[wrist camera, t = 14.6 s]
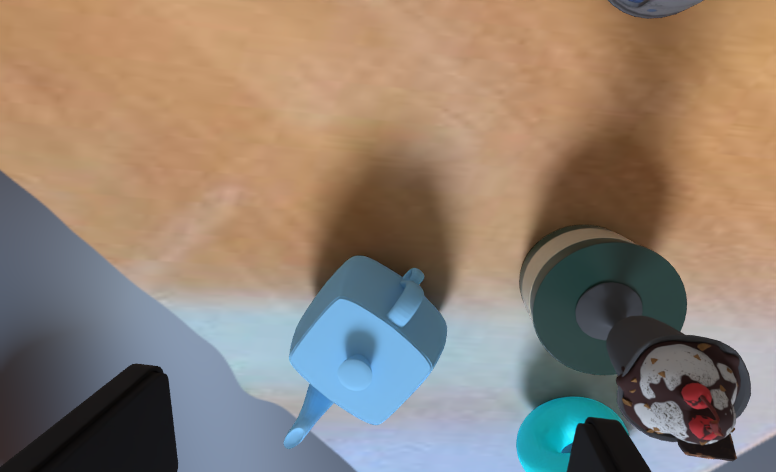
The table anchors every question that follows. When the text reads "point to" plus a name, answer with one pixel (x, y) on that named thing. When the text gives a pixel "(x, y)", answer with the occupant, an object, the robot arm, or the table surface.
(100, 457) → the robot arm
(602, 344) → the tin
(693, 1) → the beverage bottle
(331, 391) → the teapot
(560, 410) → the donuts
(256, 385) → the table surface
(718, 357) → the sundae
